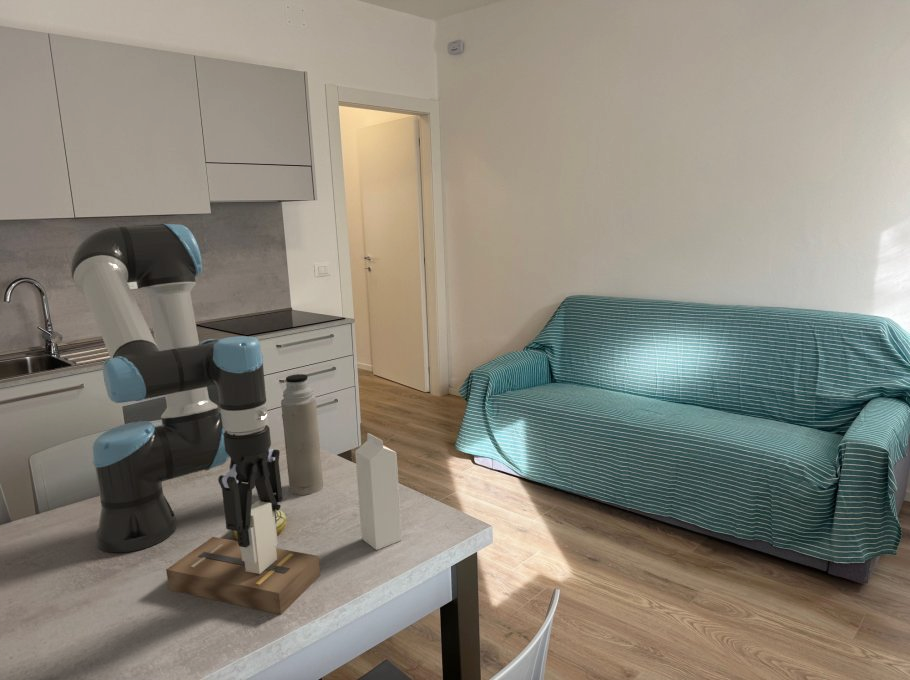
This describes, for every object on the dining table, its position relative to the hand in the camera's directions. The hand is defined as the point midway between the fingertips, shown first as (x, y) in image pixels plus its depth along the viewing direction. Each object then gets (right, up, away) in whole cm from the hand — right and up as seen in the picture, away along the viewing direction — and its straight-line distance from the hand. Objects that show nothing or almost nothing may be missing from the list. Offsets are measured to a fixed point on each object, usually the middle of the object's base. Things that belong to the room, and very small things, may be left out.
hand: (260, 552), depth 114 cm
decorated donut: (-6, -3, +21) cm, 22 cm away
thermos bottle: (-1, +2, +42) cm, 42 cm away
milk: (+20, -3, +16) cm, 26 cm away
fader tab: (0, -2, +1) cm, 3 cm away
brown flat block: (-4, -6, +3) cm, 8 cm away
